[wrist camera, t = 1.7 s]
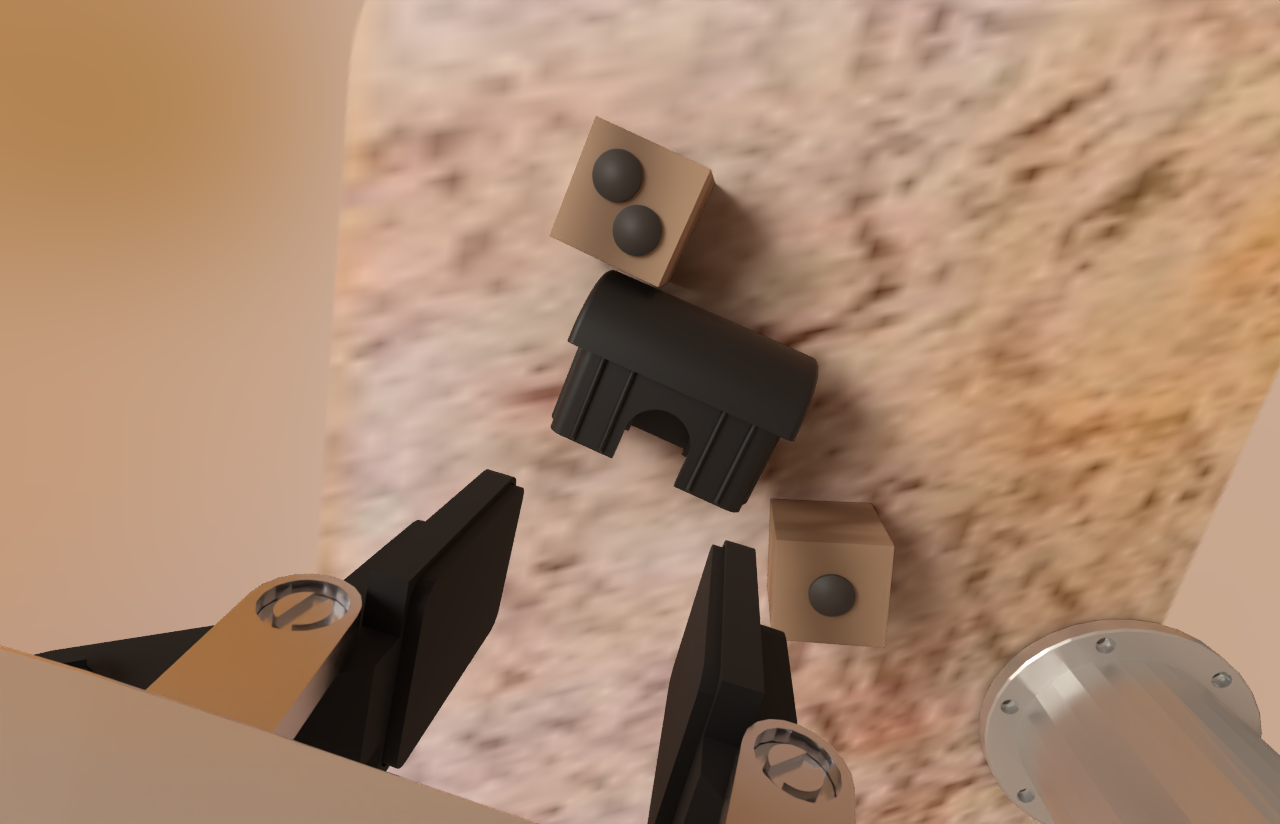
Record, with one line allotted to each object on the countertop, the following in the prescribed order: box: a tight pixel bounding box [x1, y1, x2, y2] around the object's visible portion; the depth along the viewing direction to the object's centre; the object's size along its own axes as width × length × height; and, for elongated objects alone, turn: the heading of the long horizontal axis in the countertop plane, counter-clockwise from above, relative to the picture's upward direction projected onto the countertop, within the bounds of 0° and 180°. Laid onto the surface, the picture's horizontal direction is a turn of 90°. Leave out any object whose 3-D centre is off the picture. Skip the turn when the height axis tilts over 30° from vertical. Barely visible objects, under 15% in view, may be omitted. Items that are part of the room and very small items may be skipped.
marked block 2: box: [767, 499, 894, 648], centre depth 31 cm, size 5×5×5 cm
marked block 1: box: [550, 116, 715, 287], centre depth 28 cm, size 5×5×5 cm
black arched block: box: [551, 270, 818, 512], centre depth 29 cm, size 10×7×7 cm
